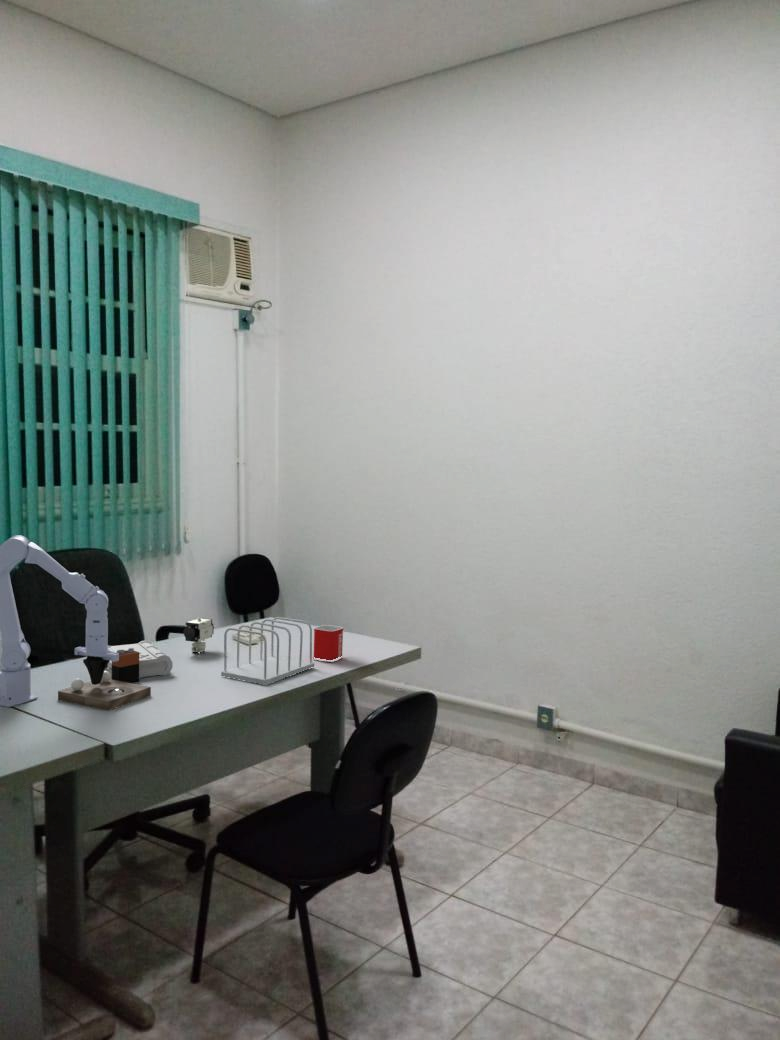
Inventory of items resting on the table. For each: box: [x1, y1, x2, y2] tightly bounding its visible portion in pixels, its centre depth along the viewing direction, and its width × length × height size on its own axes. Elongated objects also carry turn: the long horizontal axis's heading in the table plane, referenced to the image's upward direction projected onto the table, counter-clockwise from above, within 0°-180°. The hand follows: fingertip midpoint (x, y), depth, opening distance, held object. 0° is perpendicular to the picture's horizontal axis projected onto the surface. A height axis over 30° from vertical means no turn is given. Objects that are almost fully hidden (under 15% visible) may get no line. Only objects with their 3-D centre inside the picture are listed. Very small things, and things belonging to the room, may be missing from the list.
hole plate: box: [57, 679, 152, 712], centre depth 227 cm, size 16×18×2 cm
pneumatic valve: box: [183, 616, 215, 653], centre depth 281 cm, size 6×12×12 cm, turn 160°
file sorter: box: [220, 616, 315, 686], centre depth 259 cm, size 25×17×16 cm
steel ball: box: [111, 689, 122, 694], centre depth 225 cm, size 3×3×3 cm
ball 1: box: [70, 678, 85, 691], centre depth 225 cm, size 3×3×3 cm
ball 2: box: [101, 671, 111, 682], centre depth 234 cm, size 3×3×3 cm
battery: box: [112, 648, 140, 684], centre depth 242 cm, size 4×7×10 cm, turn 141°
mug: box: [313, 624, 344, 660], centre depth 280 cm, size 12×8×11 cm
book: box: [104, 640, 173, 679], centre depth 259 cm, size 19×28×8 cm
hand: (96, 683), depth 228 cm, fingers closed
